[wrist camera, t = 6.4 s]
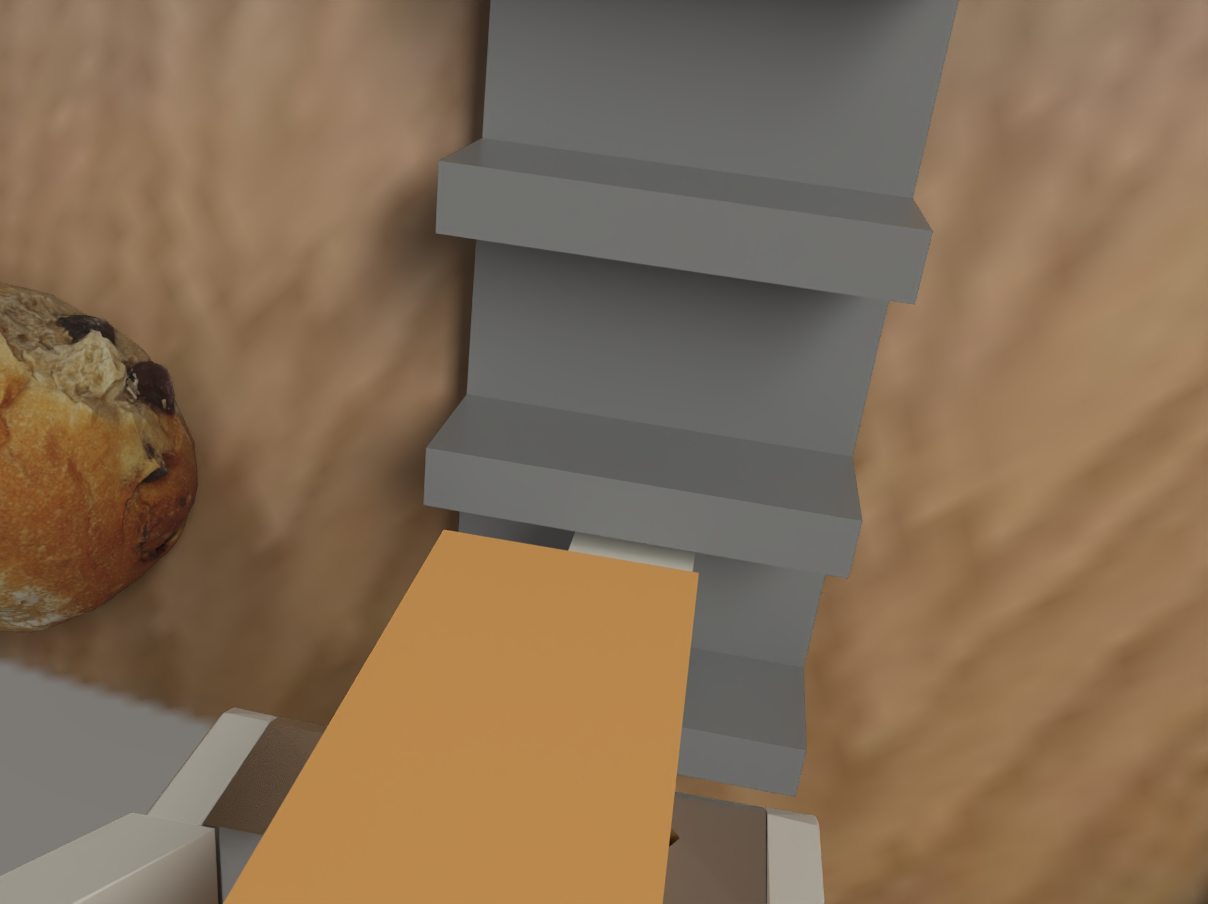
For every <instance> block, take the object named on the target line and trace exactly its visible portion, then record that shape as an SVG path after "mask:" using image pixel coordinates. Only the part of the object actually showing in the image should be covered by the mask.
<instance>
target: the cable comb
mask: <svg viewBox="0 0 1208 904" xmlns="http://www.w3.org/2000/svg"><path fill="white" fill-rule="evenodd" d="M958 1H959V0H491V2H490V18H489V35H488V51H487V68H486V84H485V101H484V117H483V134H482V138H481V139H479V140H477V141H476V142H474V143H472V144H470V145H468V146H466V147H464V148H462V149H460V150H458V151H457V152H455V153H453V154H451V155H449V156H447V157H445V158H443V159H441V160H439V166H438V189H437V211H436V233H437V234H443V235H450V236H457V237H464V238H470V239H476V249H475V266H474V282H473V299H472V315H471V332H470V348H469V365H468V381H467V394H466V396H465V397H464V398H463V400H462V401H461V402H460V404H459V405H458V406H457V408H456V409H455V410H454V412H453V413H452V414H451V416H450V417H449V418H448V420H447V421H446V422H445V423H444V425H443V426H442V427H441V429H440V430H439V431H438V433H437V434H436V435H435V437H434V438H433V439H432V441H431V442H430V443H429V445H428V446H427V447H426V460H425V483H424V505H426V506H432V507H437V508H443V509H449V510H455V511H460V513H459V530H458V532H461V533H467V534H473V535H478V536H484V537H490V538H496V539H502V540H508V541H514V542H520V543H526V544H532V545H537V546H543V547H549V548H555V549H561V550H567V551H568V550H569V547H570V545H571V542H572V539H573V537H574V534H575V531H576V532H582V533H588V534H593V535H599V536H605V537H611V538H616V539H622V540H628V541H634V542H640V543H645V544H651V545H657V546H663V547H668V548H674V549H680V550H686V551H692V552H695V558H694V565H693V572H697V573H699V576H698V585H697V594H696V603H695V613H694V622H693V631H692V640H691V649H690V658H689V667H688V676H687V686H686V695H685V704H684V713H683V722H682V731H681V740H680V749H679V759H678V768H677V774H678V775H683V776H689V777H694V778H699V779H704V780H709V781H715V782H720V783H725V784H730V785H735V786H741V787H746V788H751V789H756V790H761V791H766V792H772V793H777V794H782V795H787V796H792V797H795V796H796V792H797V788H798V783H799V779H800V775H801V771H802V767H803V763H804V759H805V755H806V722H805V692H804V664H805V660H806V656H807V651H808V647H809V643H810V639H811V634H812V630H813V626H814V621H815V617H816V613H817V608H818V604H819V600H820V595H821V591H822V587H823V582H824V578H825V575H830V576H836V577H842V578H847V579H848V578H849V574H850V570H851V566H852V561H853V557H854V553H855V549H856V545H857V541H858V537H859V533H860V529H861V524H862V516H861V509H860V502H859V496H858V489H857V483H856V476H855V469H854V463H853V453H854V449H855V445H856V440H857V436H858V432H859V427H860V423H861V419H862V414H863V410H864V406H865V402H866V397H867V393H868V389H869V384H870V380H871V376H872V371H873V367H874V363H875V358H876V354H877V350H878V345H879V341H880V337H881V333H882V328H883V324H884V320H885V315H886V311H887V307H888V302H889V301H894V302H901V303H907V304H914V305H915V302H916V298H917V294H918V290H919V286H920V282H921V278H922V274H923V269H924V265H925V261H926V257H927V253H928V249H929V245H930V241H931V237H932V232H933V231H932V229H931V227H930V226H929V224H928V222H927V221H926V219H925V217H924V216H923V214H922V213H921V211H920V209H919V208H918V206H917V204H916V203H915V201H914V199H913V195H914V190H915V186H916V182H917V177H918V173H919V169H920V165H921V160H922V156H923V152H924V147H925V143H926V139H927V134H928V130H929V126H930V121H931V117H932V113H933V108H934V104H935V100H936V96H937V91H938V87H939V83H940V78H941V74H942V70H943V65H944V61H945V57H946V52H947V48H948V44H949V40H950V35H951V31H952V27H953V22H954V18H955V14H956V9H957V5H958Z"/></svg>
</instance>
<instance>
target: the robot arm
mask: <svg viewBox="0 0 1208 904" xmlns="http://www.w3.org/2000/svg"><path fill="white" fill-rule="evenodd" d="M327 727H328V726H324V725H319V724H315V723H310V722H305V721H300V720H296V719H291V718H286V717H282V716H280V717H276V716H272V715H267V714H263V713H258V712H253V711H249V710H244V709H239V708H235V707H234V708H232V709H230V710H228V711H226V712H225V713H223V714H222V715H220V717H219V718H218V719H217V721H216V722H215V723H214V725H213V726H212V727H211V729H210V730H209V731H208V733H207V734H206V735H205V737H204V738H203V739H202V741H201V742H200V743H199V745H198V746H197V747H196V749H195V750H194V751H193V753H192V754H191V755H190V757H189V758H188V759H187V761H186V762H185V763H184V765H183V766H182V767H181V769H180V770H179V771H178V773H177V774H176V775H175V776H174V778H173V779H172V780H171V782H170V783H169V784H168V786H167V787H166V789H165V790H164V791H163V793H162V794H161V795H160V796H159V798H158V799H157V800H156V802H155V803H154V805H153V806H152V807H151V809H150V810H149V811H148V812H147V814H146V815H143V814H138V813H132V812H131V813H129V814H127V815H125V816H123V817H121V818H119V819H117V820H115V821H113V822H111V823H109V824H106V825H104V826H102V827H100V828H98V829H96V830H94V831H92V832H90V833H88V834H86V835H84V836H82V837H80V838H77V839H75V840H73V841H71V842H69V843H67V844H65V845H63V846H61V847H59V848H57V849H55V850H53V851H51V852H49V853H47V854H44V855H42V856H40V857H38V858H36V859H34V860H32V861H30V862H28V863H26V864H24V865H22V866H20V867H18V868H15V869H13V870H11V871H10V872H7V873H5V874H3V875H1V876H0V904H223V903H224V901H225V900H226V898H227V896H228V894H229V893H230V891H231V889H232V888H233V886H234V884H235V883H236V881H237V879H238V878H239V876H240V874H241V872H242V871H243V869H244V867H245V866H246V864H247V862H248V861H249V859H250V857H251V855H252V854H253V852H254V850H255V849H256V847H257V845H258V844H259V842H260V840H261V839H262V837H263V835H264V833H265V832H266V830H267V828H268V827H269V825H270V823H271V822H272V820H273V818H274V816H275V815H276V813H277V811H278V810H279V808H280V806H281V805H282V803H283V801H284V799H285V798H286V796H287V794H288V793H289V791H290V789H291V788H292V786H293V784H294V783H295V781H296V779H297V777H298V776H299V774H300V772H301V771H302V769H303V767H304V766H305V764H306V762H307V760H308V759H309V757H310V755H311V754H312V752H313V750H314V749H315V747H316V745H317V744H318V742H319V740H320V738H321V737H322V735H323V733H324V732H325V730H326V728H327ZM663 904H825V903H824V889H823V875H822V861H821V846H820V832H819V823H818V821H817V819H816V817H815V816H814V815H809V814H803V813H797V812H791V811H785V810H779V809H773V808H767V807H766V808H765V809H763V808H761V807H756V806H750V805H745V804H739V803H734V802H728V801H722V800H717V799H711V798H706V797H700V796H694V795H689V794H683V793H678V792H675V795H674V804H673V813H672V822H671V832H670V841H669V850H668V859H667V868H666V877H665V886H664V895H663Z"/></svg>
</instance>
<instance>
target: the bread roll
mask: <svg viewBox="0 0 1208 904" xmlns="http://www.w3.org/2000/svg"><path fill="white" fill-rule="evenodd" d="M24 386H25V387H24ZM28 387H29V388H28ZM197 485H198V484H197V465H196V457H195V447H194V440H193V438H192V436H191V434H190V432H189V430H188V428H187V426H186V423H185V421H184V419H183V416H182V414H181V412H180V409H179V407H178V405H177V403H176V401H175V399H174V390H173V384H172V378H171V376H170V374H169V372H168V371H167V369H166V368H165V367H163V366H161V365H159V364H155V363H153V362H152V361H151V360H150V356H149V355H148V354H147V353H146V352H145V351H144V350H143V349H142V348H141V347H140V346H139V345H138V344H136V343H135V342H133V341H131V340H130V339H128V338H127V337H125V336H123V335H122V334H120V333H119V332H118V331H117V330H116V329H114V328H113V327H112V326H111V325H110V324H109V323H108V322H107V321H105V320H101V319H98V318H95V317H91V316H87V315H85V314H84V313H82V312H80V311H79V310H77V309H75V308H74V307H72V306H70V305H69V304H67V303H65V302H63V301H61V300H59V299H57V298H56V297H54V296H53V295H50V294H46V293H42V292H38V291H34V290H30V289H26V288H21V287H15V286H10V285H5V284H1V283H0V630H2V631H9V632H33V631H36V630H44V629H47V628H49V627H52V626H55V625H57V624H60V623H62V622H65V621H68V620H71V618H72V617H75V616H78V615H81V614H83V613H85V612H87V611H91V610H94V609H96V608H97V607H99V606H101V605H102V604H104V603H106V602H107V601H109V600H110V599H111V598H113V597H114V596H115V595H116V594H118V593H119V592H120V591H122V590H123V589H125V588H126V587H127V586H129V585H130V584H132V583H133V582H134V581H136V580H137V579H138V578H140V577H141V576H142V575H143V574H144V573H145V572H146V571H147V570H148V569H149V568H150V567H151V566H152V565H153V564H154V563H156V562H157V561H158V560H159V559H160V558H161V557H163V556H164V555H165V554H166V553H167V552H168V551H169V550H170V549H171V548H172V547H173V545H174V544H175V543H176V542H177V540H178V538H179V537H180V535H181V533H182V530H183V528H184V526H185V523H186V519H187V514H188V512H189V510H190V508H191V506H192V505H193V503H194V499H195V495H196V490H197Z"/></svg>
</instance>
